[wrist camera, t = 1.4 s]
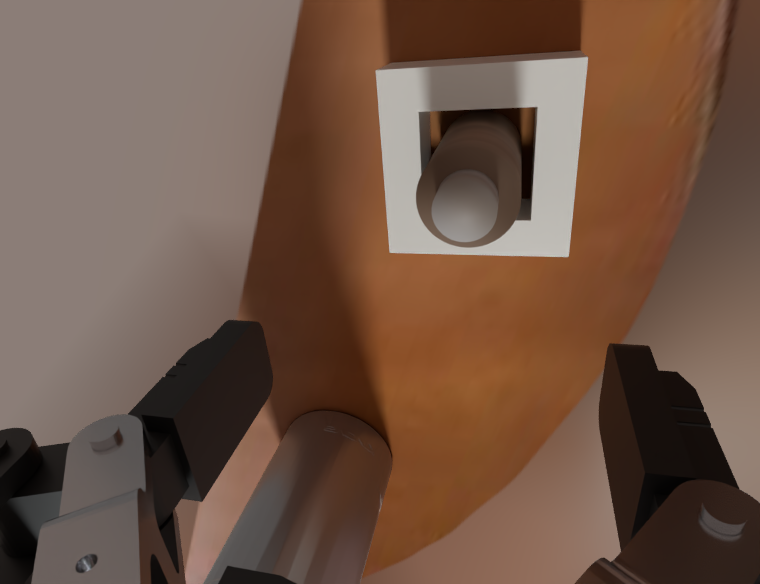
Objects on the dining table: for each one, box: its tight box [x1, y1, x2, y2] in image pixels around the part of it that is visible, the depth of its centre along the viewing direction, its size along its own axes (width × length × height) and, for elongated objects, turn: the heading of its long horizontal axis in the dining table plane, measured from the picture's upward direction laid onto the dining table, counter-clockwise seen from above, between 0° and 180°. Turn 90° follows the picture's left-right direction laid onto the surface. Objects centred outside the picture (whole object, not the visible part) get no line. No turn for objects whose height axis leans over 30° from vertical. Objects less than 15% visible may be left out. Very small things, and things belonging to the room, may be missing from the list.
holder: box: [376, 50, 588, 257], centre depth 28 cm, size 10×10×4 cm
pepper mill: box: [416, 109, 522, 248], centre depth 25 cm, size 4×4×10 cm
